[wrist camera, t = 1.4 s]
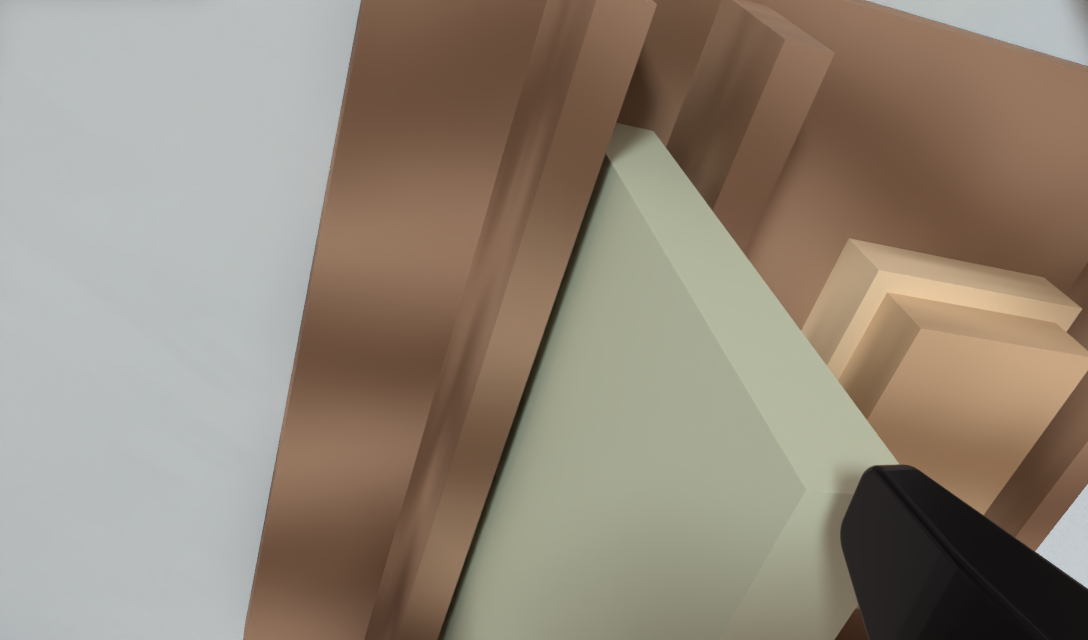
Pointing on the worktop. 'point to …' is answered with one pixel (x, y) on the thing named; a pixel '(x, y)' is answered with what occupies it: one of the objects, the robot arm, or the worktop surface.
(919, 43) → the walnut rack
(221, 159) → the worktop surface
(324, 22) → the worktop surface
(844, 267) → the pine offcut
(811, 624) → the green sheet
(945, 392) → the oak offcut
